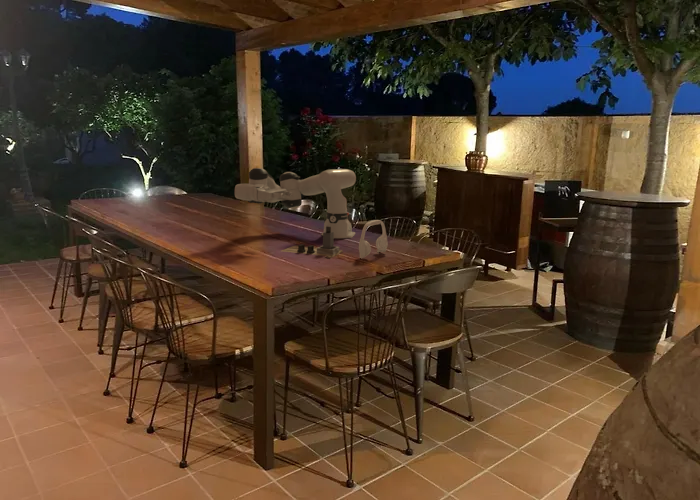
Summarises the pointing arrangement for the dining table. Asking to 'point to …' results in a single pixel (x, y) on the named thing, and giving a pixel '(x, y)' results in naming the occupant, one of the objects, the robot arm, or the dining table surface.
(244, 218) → the dining table surface
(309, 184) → the robot arm
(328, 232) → the grey square bottle
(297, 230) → the dining table surface
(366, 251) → the headset
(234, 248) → the dining table surface
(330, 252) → the cable board
